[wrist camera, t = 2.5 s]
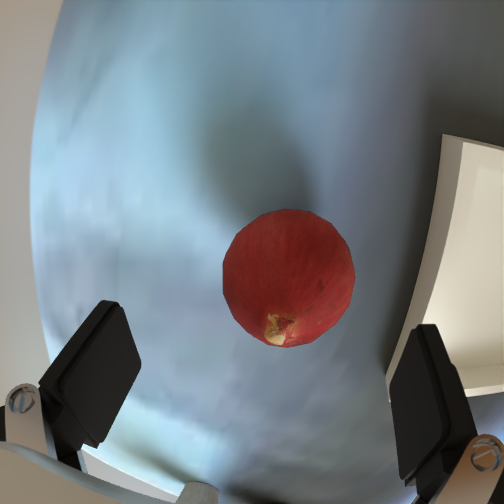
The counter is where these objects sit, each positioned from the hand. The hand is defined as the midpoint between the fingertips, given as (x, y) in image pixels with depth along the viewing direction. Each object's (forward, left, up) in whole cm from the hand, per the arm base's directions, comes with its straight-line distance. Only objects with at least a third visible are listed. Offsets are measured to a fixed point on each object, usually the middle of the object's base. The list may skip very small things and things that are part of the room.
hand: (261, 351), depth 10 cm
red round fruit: (0, 0, -9) cm, 9 cm away
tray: (-16, +2, -9) cm, 19 cm away
